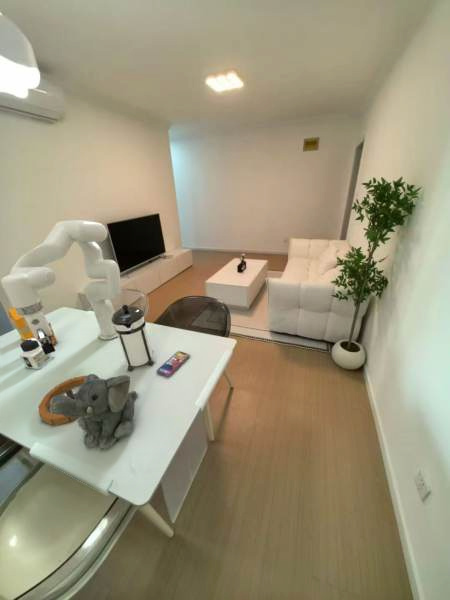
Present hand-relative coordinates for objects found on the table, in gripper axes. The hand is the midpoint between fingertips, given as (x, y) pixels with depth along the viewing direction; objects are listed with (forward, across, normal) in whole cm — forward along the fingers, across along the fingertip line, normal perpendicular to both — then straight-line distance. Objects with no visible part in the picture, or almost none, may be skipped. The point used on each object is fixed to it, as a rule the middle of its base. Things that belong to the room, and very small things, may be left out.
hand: (48, 347), depth 88 cm
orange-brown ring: (+20, -11, 0) cm, 23 cm away
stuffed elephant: (+20, -33, -8) cm, 40 cm away
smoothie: (+20, +41, +1) cm, 45 cm away
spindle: (+20, -11, 0) cm, 23 cm away
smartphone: (+20, -22, -39) cm, 49 cm away
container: (+20, +27, +7) cm, 34 cm away
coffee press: (+20, -7, -29) cm, 36 cm away
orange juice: (+20, +59, +7) cm, 62 cm away
